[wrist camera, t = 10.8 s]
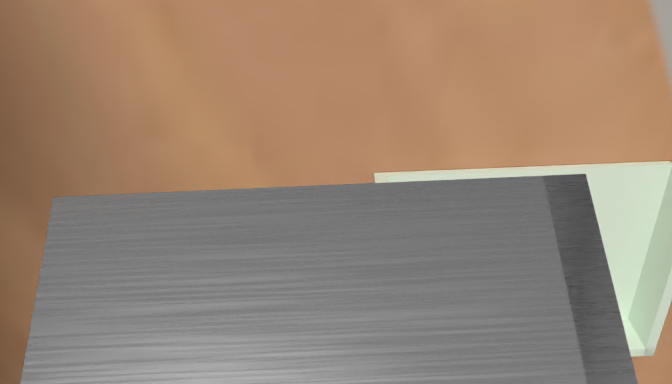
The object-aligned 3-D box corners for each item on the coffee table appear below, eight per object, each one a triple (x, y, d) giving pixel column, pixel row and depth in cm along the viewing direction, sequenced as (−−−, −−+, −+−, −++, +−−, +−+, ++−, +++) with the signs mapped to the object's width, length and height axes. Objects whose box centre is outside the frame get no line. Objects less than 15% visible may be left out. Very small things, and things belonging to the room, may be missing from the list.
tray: (373, 172, 29) (378, 203, 27) (680, 160, 29) (708, 190, 27) (374, 331, 35) (377, 366, 33) (632, 320, 35) (652, 355, 33)
